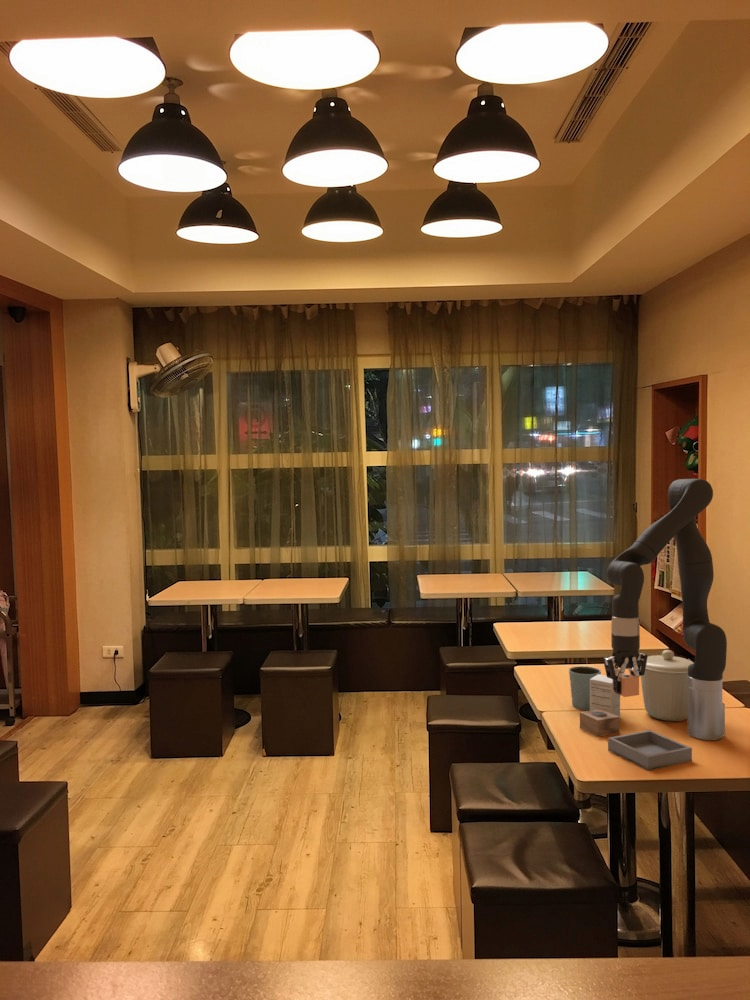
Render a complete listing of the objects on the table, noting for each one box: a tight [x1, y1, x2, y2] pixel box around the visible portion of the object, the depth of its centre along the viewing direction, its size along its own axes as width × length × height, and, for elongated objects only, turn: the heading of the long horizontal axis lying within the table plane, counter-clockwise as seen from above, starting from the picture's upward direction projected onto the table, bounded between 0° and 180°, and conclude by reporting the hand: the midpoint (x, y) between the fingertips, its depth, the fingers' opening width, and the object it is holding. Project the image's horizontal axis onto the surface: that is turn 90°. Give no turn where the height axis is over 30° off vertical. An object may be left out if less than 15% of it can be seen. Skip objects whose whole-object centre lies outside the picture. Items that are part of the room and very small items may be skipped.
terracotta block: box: [613, 672, 640, 698], centre depth 199 cm, size 5×5×5 cm
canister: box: [640, 649, 694, 722], centre depth 223 cm, size 18×18×21 cm
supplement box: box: [589, 674, 621, 718], centre depth 222 cm, size 7×7×13 cm
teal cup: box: [568, 665, 602, 711], centre depth 234 cm, size 10×10×12 cm
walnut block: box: [579, 709, 620, 737], centre depth 211 cm, size 8×8×5 cm
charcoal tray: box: [607, 729, 693, 772], centre depth 192 cm, size 15×15×4 cm
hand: (625, 691), depth 199 cm, fingers closed on terracotta block, 5 cm apart
